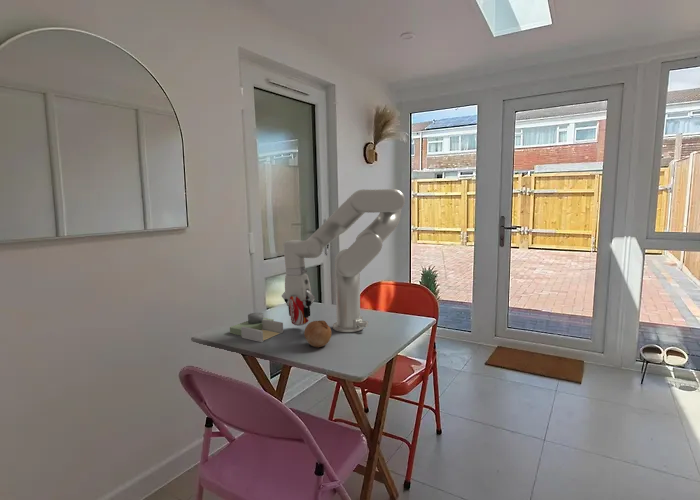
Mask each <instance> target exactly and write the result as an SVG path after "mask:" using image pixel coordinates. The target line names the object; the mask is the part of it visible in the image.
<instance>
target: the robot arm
mask: <svg viewBox="0 0 700 500" xmlns="http://www.w3.org/2000/svg"><path fill="white" fill-rule="evenodd" d="M405 202H406V198H405V195H404V193H403V192H402V191H401V190H399V189H395V188H384V189H383V188H382V189H381V188H380V189H359V190H356V191H354V192H353V193H352V194H351V195H350V196H349V197H348V198H347V199H345V200H344V202H343V203H342V204H341V205H339V207H338V208H337V209H335V210H334V211H333V212H332V214H331V215H330V216H329V217H328V218H327V219H326V220H325V221H324V223H323V224H322V225H320V227H318V228H317V229H316V230H315V231H314V232H313V233H312V234H311V235H310V236H309V237H308V238H307V239H305V240H300V239H291V240H285V242H283V254H284V265H285V277H284V292H283V293H282V294H281V297H282V299H283V301H284V302H285V303H286V306H287V309H288V315H289V317H291V315H290V305H289V299H290V297H291V296H297V297H298V298H299V299H300V301H302V303H303V305H304V308H303V310H304V317H305V318H307V317H311V306H312V304H313V303H314V301H315V299H316V297H315V295H313V294H312V289H311V283H310V282H311V281H310V279H309V275H308V274H307V272H308V269H307V268H306V264H305V263H306V262H305V259H317V258H319V257H321V254H323V252H324V251H323V250H324V249H325V248H326V247H327V246H328V245H330V244H331V243H332V241H334V240H335V239H336V238H337V237H339V236H340V235H342V234H344V233H345V232H347V231H348V230H349V229H350V228H351V227H352V226H353V225H354V224H355V223H356V222H357V221H358V220H359V219H360V218H361V217H362V216H363V215H364V214H366V213H367V214H368V213H375V214H376V213H379V214H378V215H377V216H376V217H375V219H374V220H372V222H371V223H370V224H368V226H366V227H365V229H364V230H362V231H361V232H359V234H357V237H356V238H355V241H353V243H352V244H351V245H350V246H349V247H347V248H345V249H341V250H340V251H338V253H337V254H336V256H335V260H334V266H335V267H334V268H335V269H334V270H335V271H334V272H335V303H336V304H335V306H336V309H335V310H336V316H335V317H336V322H335V323H333V324H332V329H333V330H335V331H337V332H339V333H355V332H359V331H362V330H364V328H368V327H369V321H368V320H364V319H363V316H362V315H361V277H360V276H361V275H360V273H361V272H362V271H363V270H364V269H365V268H366V267H367V266H368V265H370V263H371V262H372V261H373V260H374V259H375V258H376V257H377V256H378V255H379V254H380V253H381V251H382V249H383V243H384V242H385V240H387V238H388V237H389V236H391V235H392V234H393V233H394V231H395V230H396V229H397V227H398V225H399V223H400V222H401V221H400V220H401V216H402V209H403V207H404V206H405V204H406V203H405ZM290 295H291V296H290ZM306 302H307V303H306Z"/></svg>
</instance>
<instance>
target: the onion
mask: <svg viewBox="0 0 700 500" xmlns="http://www.w3.org/2000/svg"><path fill="white" fill-rule="evenodd" d="M303 335H304V339H305V340H306V342H307V343H308V344H309V345H310V346H312V347H313V348H321V347H325V346H326V345H328V344H329V342H330V340H331V338H332V329H331V327H330V326H329V325H328V323H327V322H326V321H325V320H313V321H310V322H309V323H307V324H306V326H305V328H304V334H303Z"/></svg>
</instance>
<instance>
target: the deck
mask: <svg viewBox="0 0 700 500" xmlns="http://www.w3.org/2000/svg"><path fill="white" fill-rule="evenodd" d="M283 333H284V322H281V321H276V320H274V319H272V318H268V317H264V313H262V312H250V313H248V314H247V320H246V321H244V322H241V323H238V324H235V325H231V326H229V334H233V335H236V336H241V339H245V340H251V341H255V342H258V343H259V342H260V343H263V342H264V341H266V340H268V339H271V338H273V337H275V336H277V335H280V334H283Z"/></svg>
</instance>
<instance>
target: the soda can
mask: <svg viewBox="0 0 700 500" xmlns="http://www.w3.org/2000/svg"><path fill="white" fill-rule="evenodd" d="M290 296H291V295H290ZM306 303H307V302H306ZM289 305H290V315H291V316H290V322H291V324H292V325H294V326H304V325H307V324H308V322H309V321H310V320H309V317H310V316H309V317H307V318H305V317H304V310H303V308H304V305H303V303H302V301H300V299H299V298H298V297H297V296H291V297H290V299H289Z"/></svg>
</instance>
